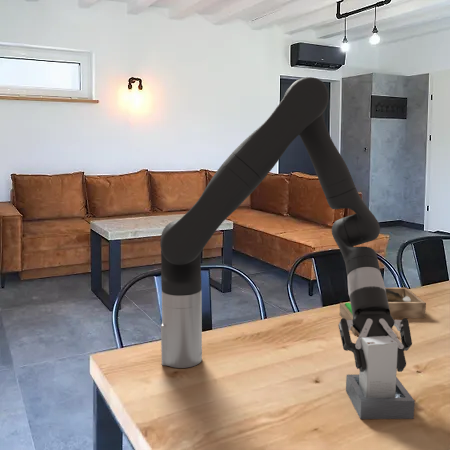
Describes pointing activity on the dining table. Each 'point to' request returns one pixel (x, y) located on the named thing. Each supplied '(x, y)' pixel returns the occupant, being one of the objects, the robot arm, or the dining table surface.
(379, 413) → the keeper tray
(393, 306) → the figurine corral
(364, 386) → the skincare box
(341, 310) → the tray
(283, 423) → the dining table surface
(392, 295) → the eagle figurine
